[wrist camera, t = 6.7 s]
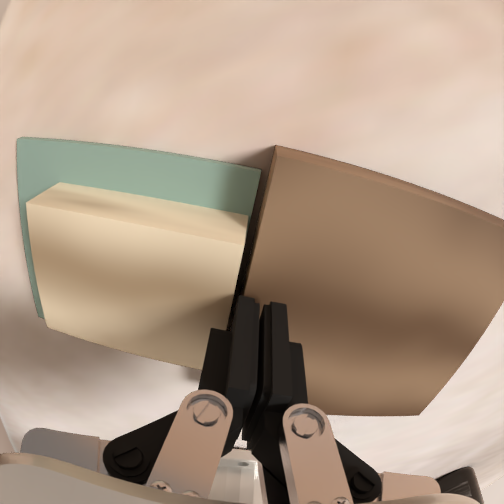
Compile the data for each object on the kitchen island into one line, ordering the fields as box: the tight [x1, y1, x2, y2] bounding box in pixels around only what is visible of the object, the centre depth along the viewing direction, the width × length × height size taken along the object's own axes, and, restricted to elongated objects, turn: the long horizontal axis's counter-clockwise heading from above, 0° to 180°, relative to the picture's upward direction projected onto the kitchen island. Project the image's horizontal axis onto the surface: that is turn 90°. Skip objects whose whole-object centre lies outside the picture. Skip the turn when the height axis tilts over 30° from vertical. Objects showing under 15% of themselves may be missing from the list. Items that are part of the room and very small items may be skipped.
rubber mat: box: [17, 137, 261, 319], centre depth 13 cm, size 10×11×1 cm
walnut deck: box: [240, 145, 504, 416], centre depth 13 cm, size 12×12×2 cm
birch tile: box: [26, 182, 248, 370], centre depth 12 cm, size 6×8×2 cm
